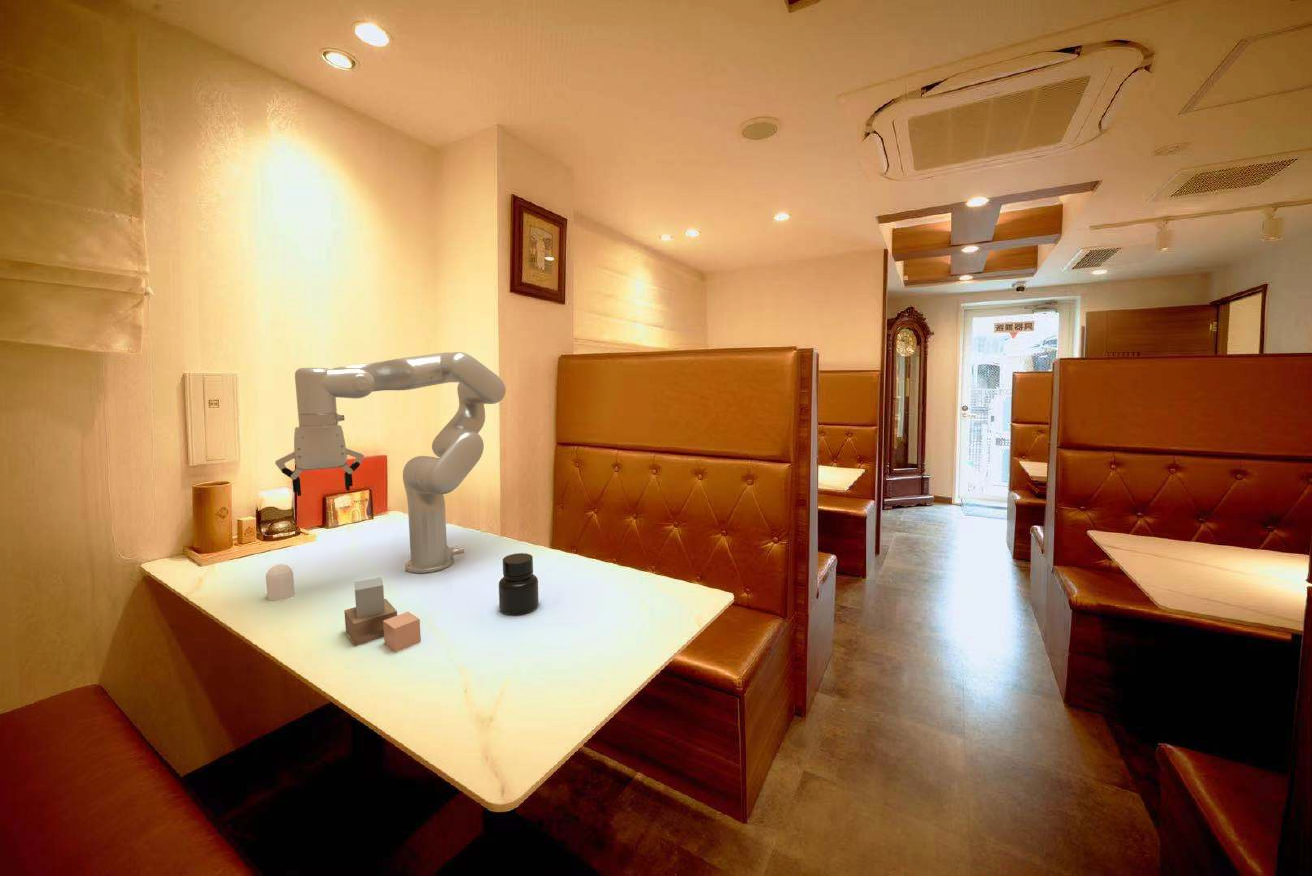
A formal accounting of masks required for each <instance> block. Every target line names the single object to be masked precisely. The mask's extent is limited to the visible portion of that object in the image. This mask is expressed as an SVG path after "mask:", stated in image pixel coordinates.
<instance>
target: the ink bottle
mask: <svg viewBox="0 0 1312 876" xmlns="http://www.w3.org/2000/svg"><path fill="white" fill-rule="evenodd" d="M533 561H534V560H533V555H531V554H530V553H525V552H524V553H523V552H520V553H517V552H516V553H511V554H508V555H507V556H504V557H503V558H502V575H503V577H502V578H501V579H500V580H499V582H498V606H499V607H498V608H499V610H500V611H501V612H502V613H504V614H507V615H510V616H512V615H513V616H520V615H524V614H527V613H530V612H532V611H534V610H535V609H537V607H538V606H539V602H540V601H539V600H540V599H539V580H538V576H536V575H535V574H534V573H533V572H534V563H533Z"/></svg>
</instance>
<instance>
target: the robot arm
mask: <svg viewBox="0 0 1312 876" xmlns="http://www.w3.org/2000/svg"><path fill="white" fill-rule="evenodd" d="M294 372H295V373H294V380H295V383H294V384H295V394H296V404H297V407H296V408H297V415H298V416H297V417H298V419H297V420H298V426H296V427H294V434H293V435H294V436H293V451H292V452H291V453H289V454H286V455H285V456H283V457H281V458H278V459H276V460H275V461H274V462H275V465H276V467H277V468H278V469H279V470H280V471H281V473H283V474H284V475H285V476H287V477H288V478H290V479H291V481H292V492H293V493H296V495H297V497H300V496H302V489H301V487H302V486H301V478H300V475H301V474H302V473H303V471H315V470H325V469H326V470H327V469H336V468H341V469H342V470H343V471H345V472H344V473H343V475H344V487H345V488H344V489H345V490H346V491H350V490H351V488H350V487H353V483H354V482H353V473H354V472H355V471H356V470H357V469H358V468H359V467H360V466H361V463H362V461H363V460H364V458H365V455H364V454H363V453H360V452H357V451H355V450H352V449H349V448H347V446H346V440H345V437H344V435H345V434H344V431H343V427H342V425H339V422H342V421H345V414H338V411H337V410H338V409H337V398H342V399H343V398H345V399H357V400H358V399H362V398H365V397H368V396H369V395H371V394H372V392H381V391H409V390H410V391H411V390H415V389H421V388H424V387H431V386H437V385H442V384H448V383H458V385H457V390H456V392H457V397H458V404H459V405H458V409H457V411H456V413H455V414H454V416H453V417H452V418H451V419H450V420H449V422H448V423H447V424H445V426H444V427H443V428H442V429H441V430H440V432H439V433H437V435H436V436H435V437H434V439H433V440H432V444H431V450H432V452H433V454H434V455H435V456H436V457H434V456H429V455H418V456H415V457H413V458H411V459H409V460H408V461H407V462H406V463H405V464H404V467H403V470H402V481H403V486H404V490H405V494H406V499H407V509H408V511H407V512H408V514H407V515H408V529H409V530H408V532H409V545H410V546H409V550H410V559H409V560H407V562H405V564H404V568H405V570H406V571H407V572H410V573H413V574H414V573H415V574H425V573H433V572H437V571H441V570H444V569H447V568H448V567H451V565H452V564H453V563H454V556H455V555H462V554H465V552H466V550H465V547H464V546H461V547H458V546H456V545H455V546H452V547H449V546H448V542H447V541H448V539H447V537H448V536H447V522H446V521H447V519H446V501H445V495H447V494H450V493H452V492H454V490H455V489H457V488H458V487H459V486H460V485H461V483H462V482H463V481H464V480H465V479H466V478H467V476H468V475H469V474H470V472H471V471H472V470H473V468H474V467H475V466H476V465H477V463H478V462H479V460H480V459H481V458H482V456H483V453H484V449H485V448H484V447H485V446H484V445H485V444H484V440H483V438H482V436H481V435H480V434H479V433H480V431H481V430H482V429H483V427H484V424H485V422H486V421H485V420H486V410H485V405H494V404H498V403H499V402H501V401H502V400H503V399H504V397H505V396H506V391H507V390H506V385H505V383H504V380H503V379H501V378H500V376H499V375H497V374H496V373H495V372H493V371H492V370H491V369H489V368H488V366H486V365H484V363H481V362H480V361H479V360H478V359H476V358H474V357H473V356H472V355H470V354H468V353H466V352H462V351H454V352H440V353H439V352H438V353H432V354H424V355H423V354H422V355H417V356H409V357H402V358H401V357H400V358H393V359H387V360H384V361H378V362H377V361H375V362H370V363H369V362H368V363H363V364H355V365H354V364H353V365H346V366H338V367H333V368H331V369H330V368H327V367H300V368H298V369H296V371H294ZM348 456H351V457H353V458H355V459H354V461H353V463H352V464H351V465H350V466H349V465H348ZM293 459H294V464H295V466H296V468H294V470H291V469H290V468H288V467H287V466H286V463H288V462H290V461H292V460H293Z"/></svg>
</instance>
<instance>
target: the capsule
mask: <svg viewBox="0 0 1312 876" xmlns="http://www.w3.org/2000/svg"><path fill="white" fill-rule="evenodd" d="M294 581H295V579H294V572H293V570H292V568H291V566H289V565H288V564H287V565H286V564H283V563H279V564H275V565H273V566H271V567H270V568H269V569H268V571H267V572H266V575H265V583H266V585H265V586H266V593H267V594H266V595H267V600H268V601H271V602H278V601H282V600H287V599H289V598H292V597H294V595H295V594H296V590H295V582H294Z"/></svg>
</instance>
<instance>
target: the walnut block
mask: <svg viewBox="0 0 1312 876" xmlns="http://www.w3.org/2000/svg"><path fill="white" fill-rule="evenodd" d="M384 607H385V612H384V613H380V614H375V615H371V616H366V617H362V618H357V613H356V606H354V607H351V608H347V609H344V610H343V611H344V623H345V633H346V634H347V635H348V637H349V639H350V640H351V642H352V644H353V645H354V646H355V647H357V646H361V645H364V644H367V643H370V642H372V641H375V640H379V639H382V638H384V629H383V621H384V620H386V619H389V618H392V617H395V616H397V615H398V610H397V609H396V608H395V607H394V606H393V605H392V603H390V602H389V601H388V599H387V598H384Z"/></svg>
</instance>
